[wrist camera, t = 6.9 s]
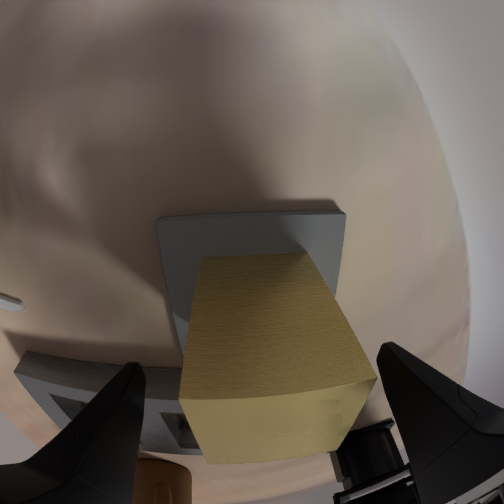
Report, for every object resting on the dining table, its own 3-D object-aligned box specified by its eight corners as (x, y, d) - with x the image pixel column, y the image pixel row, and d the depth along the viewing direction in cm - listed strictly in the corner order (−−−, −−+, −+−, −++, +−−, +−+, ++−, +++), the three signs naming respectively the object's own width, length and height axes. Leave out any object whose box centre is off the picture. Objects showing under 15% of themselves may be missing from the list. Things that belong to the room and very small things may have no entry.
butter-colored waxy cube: (307, 252, 12) (377, 377, 5) (299, 331, 14) (336, 449, 7) (200, 257, 11) (178, 399, 5) (211, 337, 13) (207, 464, 7)
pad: (341, 210, 12) (346, 214, 11) (321, 342, 15) (324, 349, 15) (159, 217, 11) (155, 222, 11) (185, 351, 15) (184, 359, 14)
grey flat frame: (287, 363, 16) (294, 394, 13) (278, 427, 19) (283, 451, 17) (26, 351, 14) (13, 372, 12) (72, 414, 18) (65, 433, 16)
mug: (131, 439, 20) (120, 517, 12) (204, 454, 22) (204, 531, 13) (133, 467, 25) (127, 523, 16) (187, 478, 26) (187, 533, 18)
